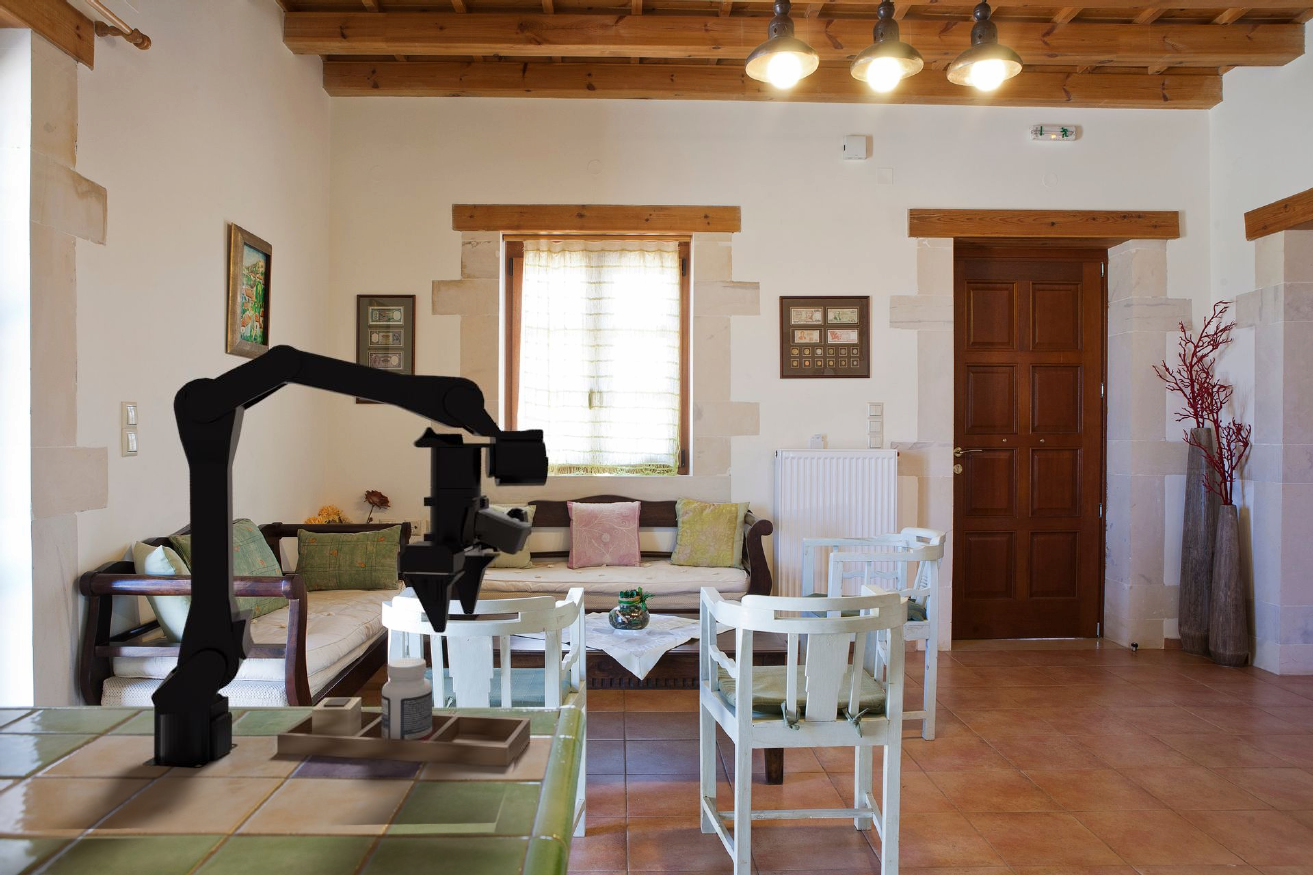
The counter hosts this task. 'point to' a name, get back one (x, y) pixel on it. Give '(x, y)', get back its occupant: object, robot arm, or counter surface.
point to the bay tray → (448, 744)
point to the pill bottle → (407, 701)
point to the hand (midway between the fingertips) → (455, 622)
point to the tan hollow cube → (337, 717)
